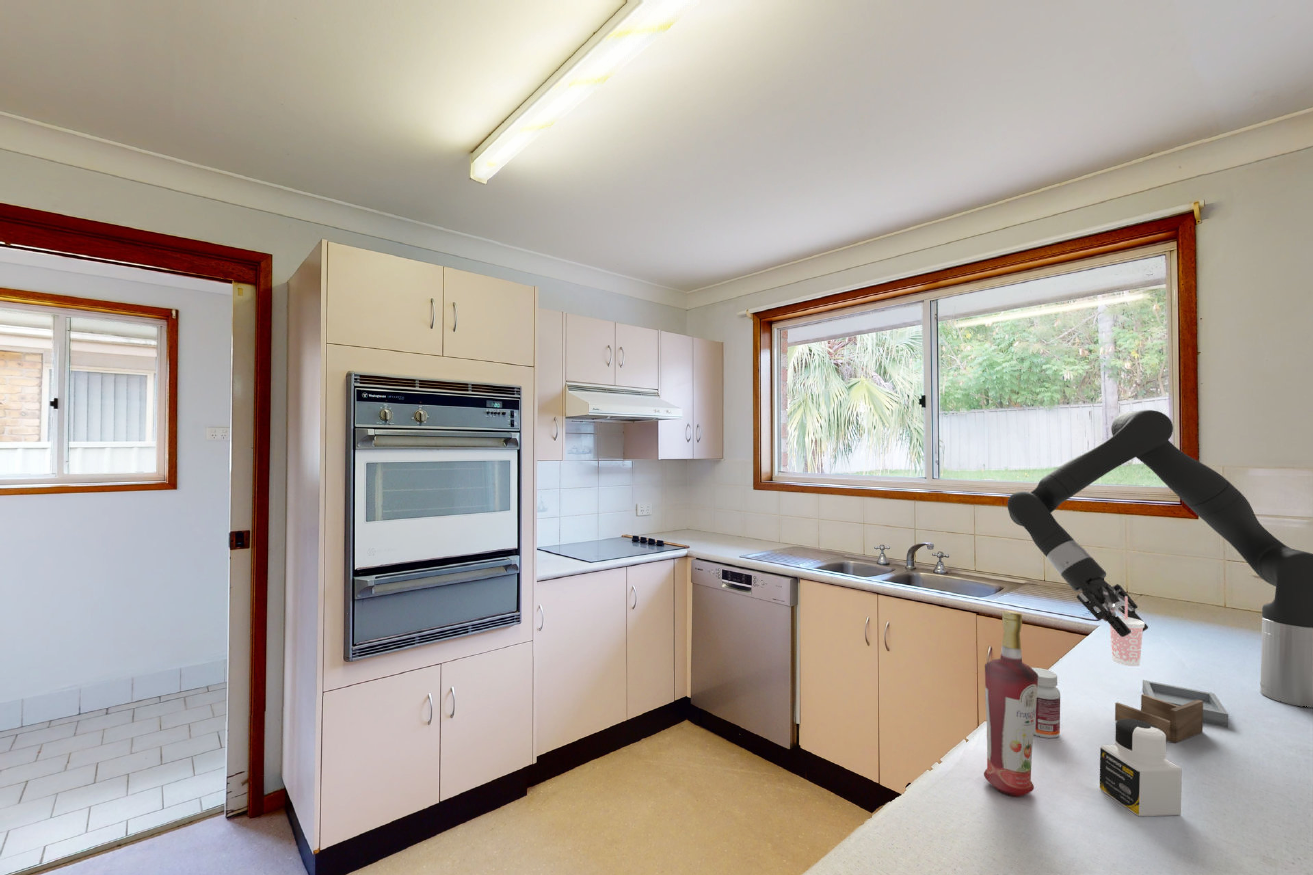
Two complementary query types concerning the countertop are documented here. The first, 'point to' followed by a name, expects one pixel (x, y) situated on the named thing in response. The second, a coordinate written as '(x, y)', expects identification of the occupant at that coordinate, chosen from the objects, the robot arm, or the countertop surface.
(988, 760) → the liquor
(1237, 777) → the countertop surface
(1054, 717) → the pill bottle
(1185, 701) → the grey tray
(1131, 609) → the robot arm
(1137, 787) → the medicine bottle
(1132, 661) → the beverage cup
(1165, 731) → the walnut bay
